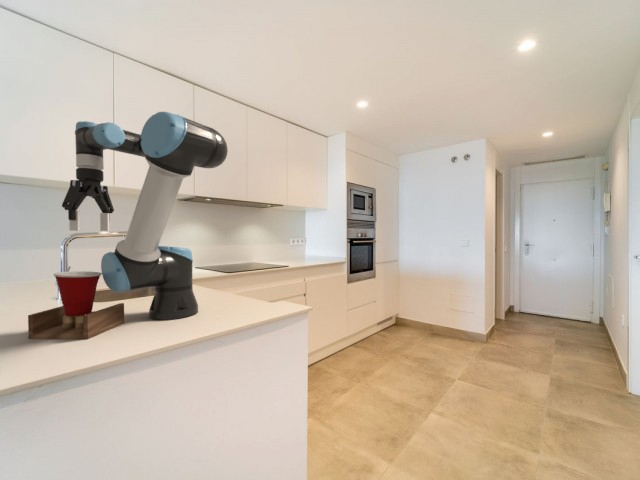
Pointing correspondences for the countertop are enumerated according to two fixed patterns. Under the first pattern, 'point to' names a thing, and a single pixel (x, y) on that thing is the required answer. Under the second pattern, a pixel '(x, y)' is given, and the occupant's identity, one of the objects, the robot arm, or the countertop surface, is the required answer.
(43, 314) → the peg board
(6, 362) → the countertop surface
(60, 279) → the plastic cup
